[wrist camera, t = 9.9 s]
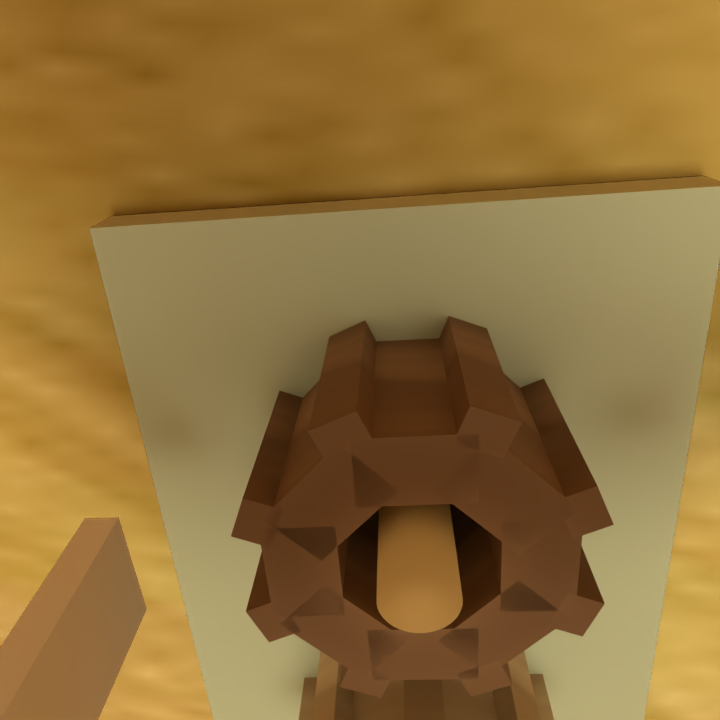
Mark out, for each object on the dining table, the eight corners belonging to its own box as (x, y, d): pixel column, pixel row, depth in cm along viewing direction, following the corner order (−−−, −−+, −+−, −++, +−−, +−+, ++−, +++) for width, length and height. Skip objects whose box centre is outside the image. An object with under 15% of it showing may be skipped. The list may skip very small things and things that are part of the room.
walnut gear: (254, 326, 17) (207, 417, 13) (563, 309, 17) (628, 399, 12) (290, 561, 21) (263, 699, 16) (547, 554, 20) (594, 695, 16)
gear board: (112, 216, 18) (-61, 308, 11) (703, 175, 17) (923, 250, 10) (242, 766, 28) (193, 995, 21) (617, 764, 27) (697, 1005, 20)
